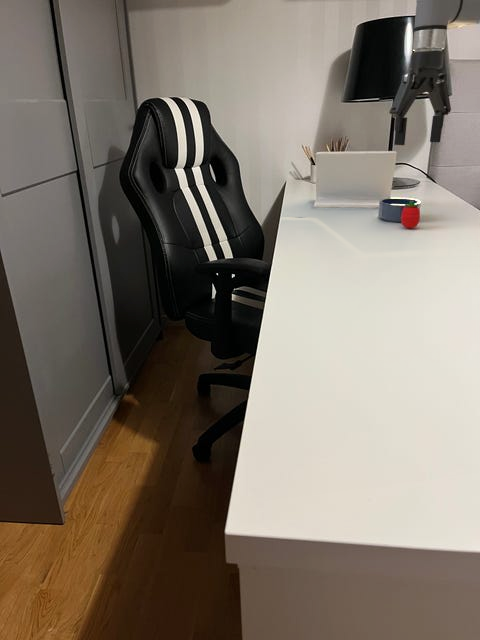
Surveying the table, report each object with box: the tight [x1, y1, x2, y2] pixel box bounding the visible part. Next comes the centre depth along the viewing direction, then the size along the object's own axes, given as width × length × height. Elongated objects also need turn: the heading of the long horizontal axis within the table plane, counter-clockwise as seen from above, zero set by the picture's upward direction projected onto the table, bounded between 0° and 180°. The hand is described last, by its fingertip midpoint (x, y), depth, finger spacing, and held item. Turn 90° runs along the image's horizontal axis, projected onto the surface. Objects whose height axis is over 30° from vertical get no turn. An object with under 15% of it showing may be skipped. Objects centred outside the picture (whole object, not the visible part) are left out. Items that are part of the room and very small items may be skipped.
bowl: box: [377, 197, 421, 223], centre depth 144 cm, size 11×11×5 cm
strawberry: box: [400, 201, 421, 229], centre depth 132 cm, size 5×5×7 cm
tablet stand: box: [313, 150, 398, 209], centre depth 166 cm, size 18×25×17 cm
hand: (417, 143), depth 130 cm, fingers open, 13 cm apart
